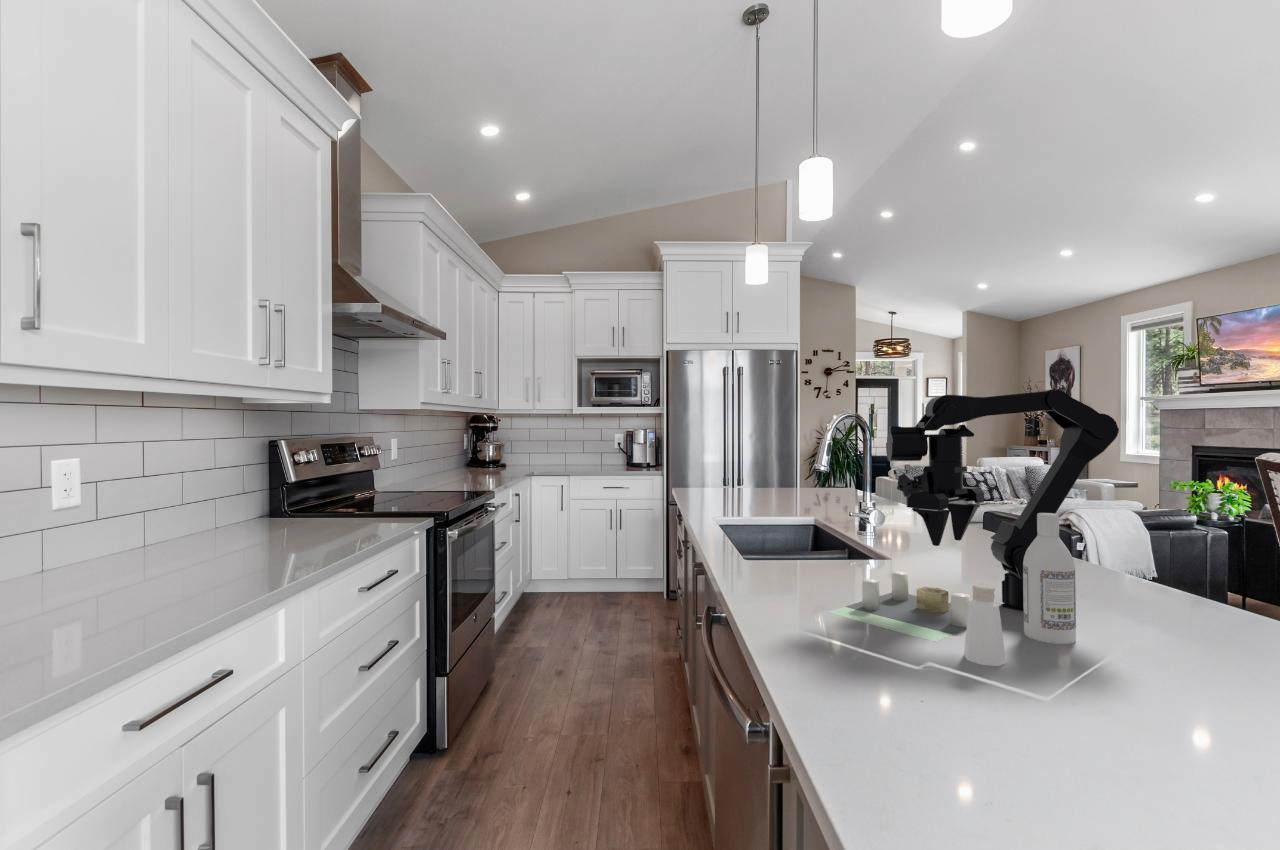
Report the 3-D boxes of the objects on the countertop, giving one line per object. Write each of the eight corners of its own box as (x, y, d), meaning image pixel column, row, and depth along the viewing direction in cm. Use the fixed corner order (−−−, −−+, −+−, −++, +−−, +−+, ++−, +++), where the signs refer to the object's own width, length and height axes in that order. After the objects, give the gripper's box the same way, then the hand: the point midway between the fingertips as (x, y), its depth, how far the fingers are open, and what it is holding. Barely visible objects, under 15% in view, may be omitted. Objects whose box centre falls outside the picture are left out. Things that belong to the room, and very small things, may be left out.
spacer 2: (911, 599, 120) (911, 573, 120) (903, 601, 118) (902, 575, 118) (897, 595, 122) (896, 570, 122) (888, 598, 121) (888, 572, 121)
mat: (1000, 616, 110) (1000, 614, 110) (935, 644, 96) (935, 641, 96) (895, 593, 126) (895, 591, 126) (827, 614, 112) (827, 611, 112)
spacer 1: (882, 608, 114) (882, 581, 114) (873, 611, 112) (873, 583, 112) (868, 604, 116) (868, 578, 116) (859, 607, 115) (858, 580, 115)
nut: (952, 609, 113) (951, 590, 113) (937, 614, 110) (937, 595, 110) (927, 604, 117) (927, 585, 117) (913, 609, 113) (912, 590, 113)
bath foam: (1086, 643, 96) (1085, 515, 96) (1055, 649, 94) (1053, 518, 94) (1044, 630, 102) (1042, 510, 103) (1013, 635, 100) (1012, 512, 100)
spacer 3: (974, 625, 104) (973, 595, 104) (965, 628, 102) (965, 598, 102) (956, 620, 106) (955, 592, 106) (947, 624, 104) (947, 594, 104)
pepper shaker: (1015, 667, 86) (1014, 589, 87) (981, 670, 86) (980, 591, 86) (987, 653, 92) (986, 580, 92) (955, 656, 91) (954, 581, 91)
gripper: (929, 458, 129) (930, 532, 129) (879, 461, 118) (881, 543, 118) (984, 459, 120) (986, 539, 120) (937, 463, 109) (938, 551, 109)
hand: (947, 542), depth 117 cm, fingers open, 8 cm apart
